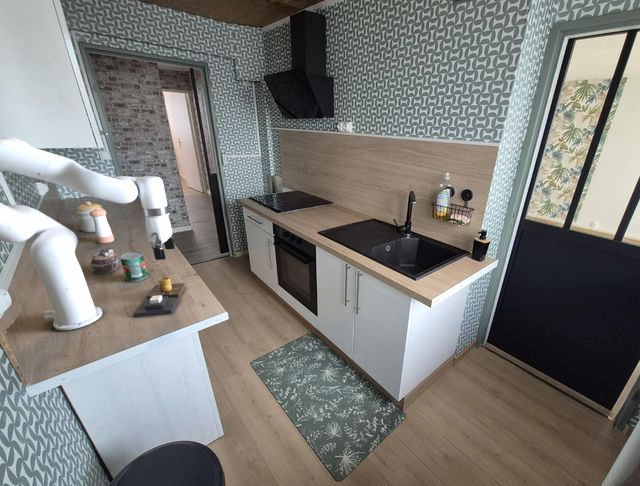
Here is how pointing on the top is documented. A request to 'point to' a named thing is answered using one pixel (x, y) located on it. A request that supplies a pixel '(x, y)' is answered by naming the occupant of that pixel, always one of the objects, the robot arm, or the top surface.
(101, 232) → the salt shaker
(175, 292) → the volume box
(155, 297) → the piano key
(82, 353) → the top surface
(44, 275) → the robot arm
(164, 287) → the yellow rounded cylinder
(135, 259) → the canned tomato
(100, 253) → the cupcake
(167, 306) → the dark gray stepped base
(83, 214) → the jar
